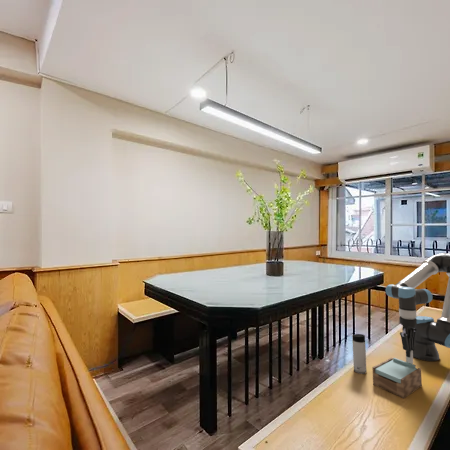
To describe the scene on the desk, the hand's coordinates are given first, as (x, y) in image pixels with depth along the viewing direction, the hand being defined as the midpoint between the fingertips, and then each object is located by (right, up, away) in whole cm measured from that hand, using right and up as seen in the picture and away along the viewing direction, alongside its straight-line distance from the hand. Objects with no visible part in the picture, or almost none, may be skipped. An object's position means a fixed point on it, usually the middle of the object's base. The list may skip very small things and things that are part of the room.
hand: (409, 362), depth 142 cm
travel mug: (-22, -8, +7) cm, 25 cm away
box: (-11, -7, -7) cm, 15 cm away
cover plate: (-11, -1, -7) cm, 14 cm away
